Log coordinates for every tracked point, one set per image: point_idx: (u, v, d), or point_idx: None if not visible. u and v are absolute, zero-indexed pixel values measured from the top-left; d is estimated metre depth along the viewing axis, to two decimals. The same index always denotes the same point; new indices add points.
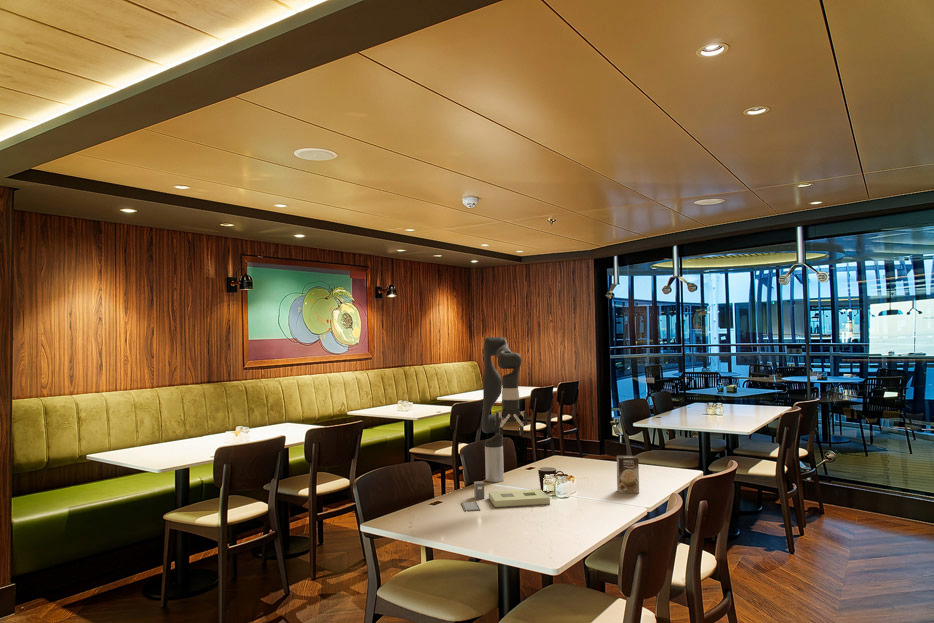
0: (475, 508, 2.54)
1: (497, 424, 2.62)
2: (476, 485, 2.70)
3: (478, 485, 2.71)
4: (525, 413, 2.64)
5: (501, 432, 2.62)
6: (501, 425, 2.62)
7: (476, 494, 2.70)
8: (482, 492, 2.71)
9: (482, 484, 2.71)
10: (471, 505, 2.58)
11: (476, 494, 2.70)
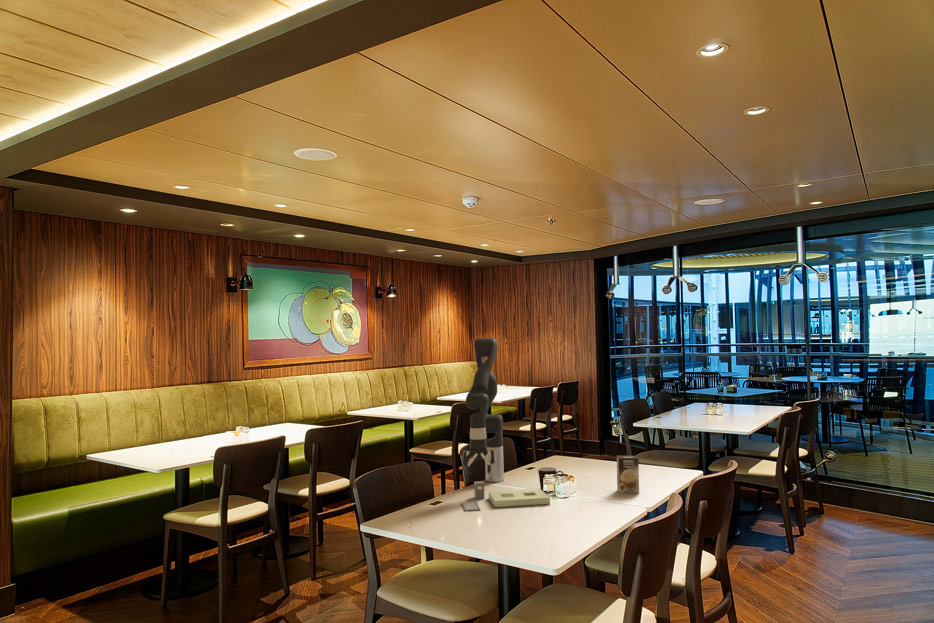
0: (475, 508, 2.54)
1: (465, 463, 2.71)
2: (476, 485, 2.71)
3: (478, 485, 2.71)
4: (492, 452, 2.73)
5: (469, 471, 2.71)
6: (469, 464, 2.71)
7: (476, 494, 2.70)
8: (482, 492, 2.71)
9: (482, 484, 2.71)
10: (471, 505, 2.58)
11: (476, 494, 2.70)
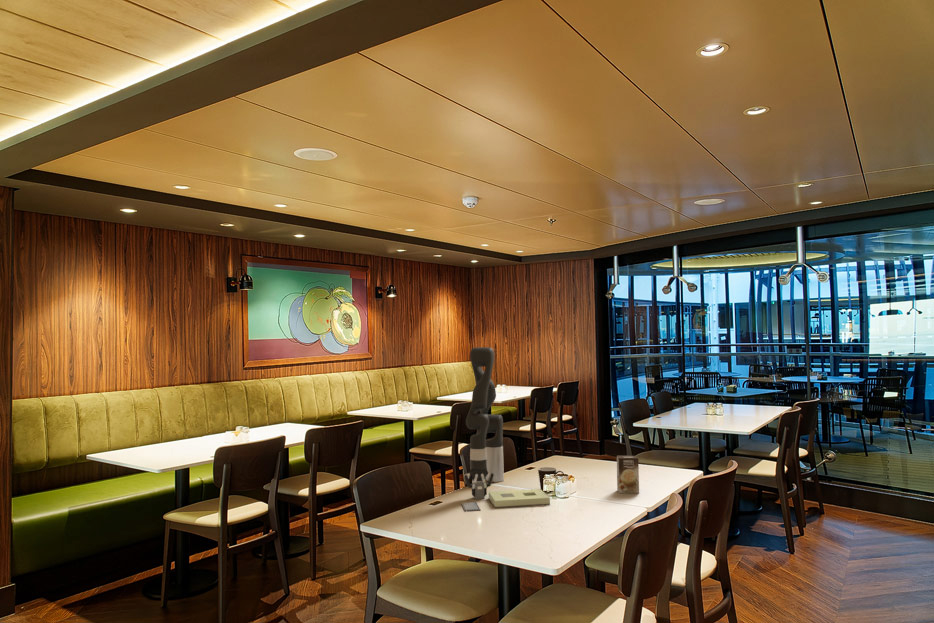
0: (475, 508, 2.54)
1: (469, 485, 2.71)
2: (476, 485, 2.71)
3: (478, 485, 2.71)
4: (492, 475, 2.72)
5: (473, 493, 2.71)
6: (473, 486, 2.71)
7: (476, 494, 2.70)
8: (482, 492, 2.71)
9: (482, 484, 2.71)
10: (471, 505, 2.58)
11: (476, 493, 2.70)
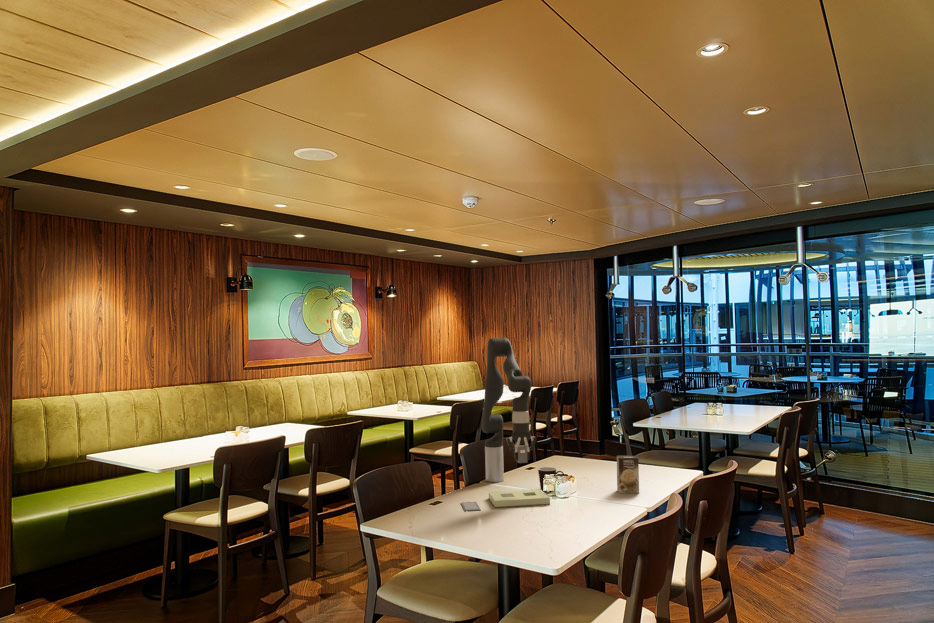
0: (475, 508, 2.54)
1: (512, 449, 2.65)
2: (519, 448, 2.64)
3: (521, 448, 2.65)
4: (535, 439, 2.66)
5: (516, 457, 2.65)
6: (516, 450, 2.65)
7: (519, 458, 2.64)
8: (525, 456, 2.65)
9: (525, 448, 2.65)
10: (471, 505, 2.58)
11: (519, 457, 2.64)
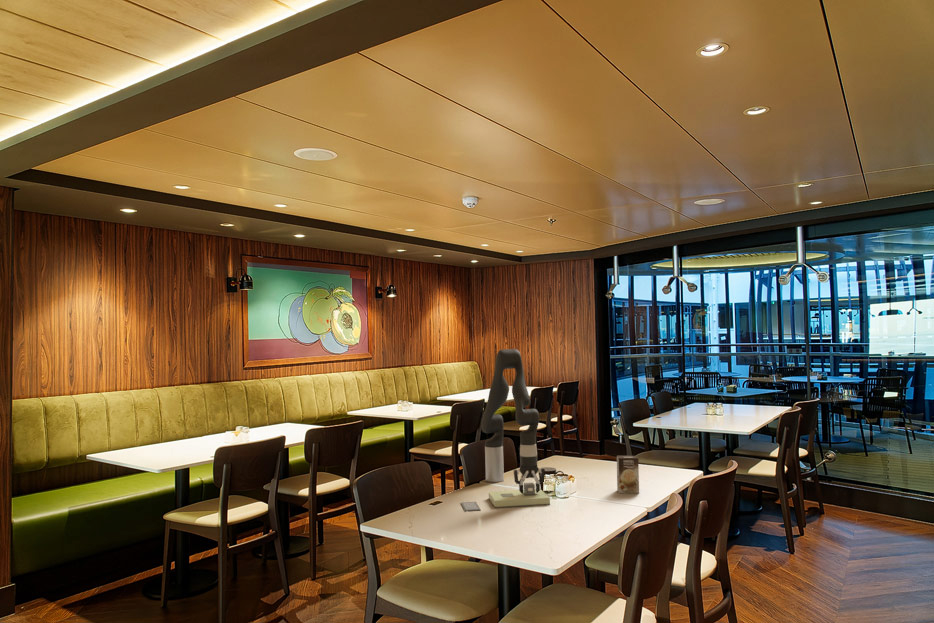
0: (475, 508, 2.54)
1: (517, 482, 2.64)
2: (527, 486, 2.63)
3: (529, 486, 2.63)
4: (543, 470, 2.66)
5: (521, 490, 2.64)
6: (521, 483, 2.64)
7: None
8: (533, 494, 2.63)
9: (532, 486, 2.64)
10: (471, 505, 2.58)
11: (527, 495, 2.63)
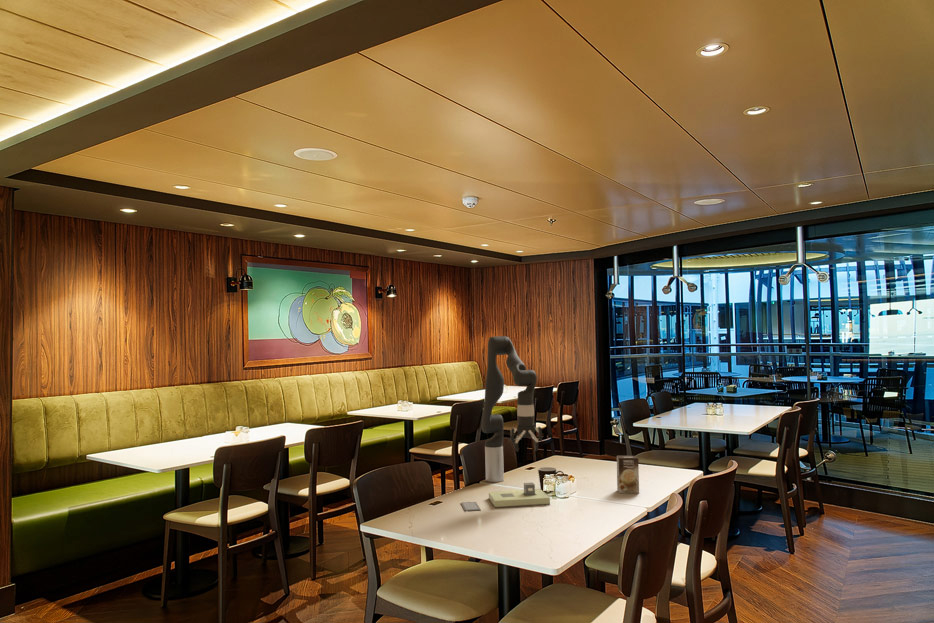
0: (475, 508, 2.54)
1: (512, 440, 2.68)
2: (527, 486, 2.63)
3: (529, 486, 2.63)
4: (540, 429, 2.70)
5: (516, 448, 2.68)
6: (516, 441, 2.68)
7: None
8: (533, 494, 2.63)
9: (532, 486, 2.64)
10: (471, 505, 2.58)
11: (527, 495, 2.63)
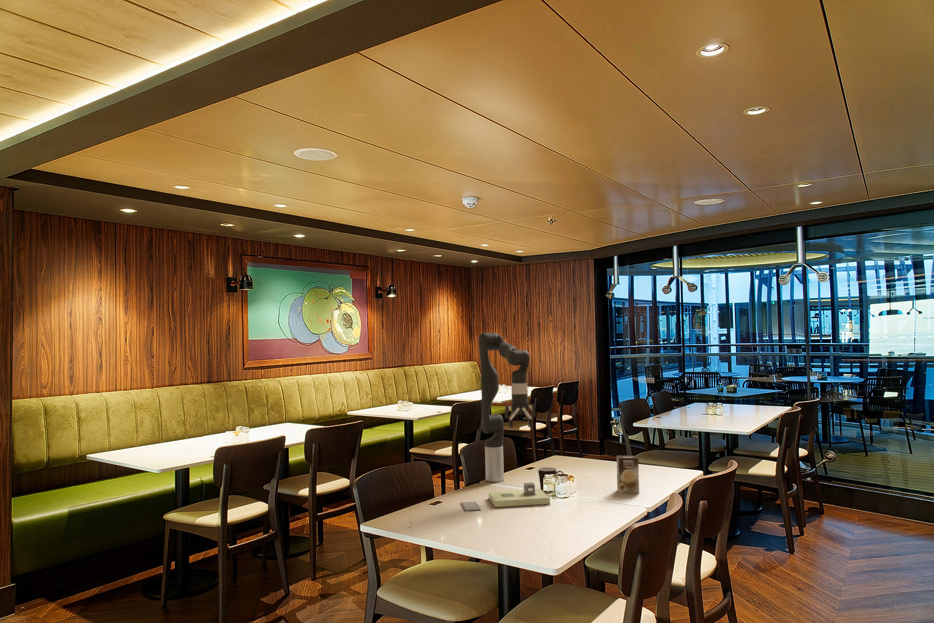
0: (475, 508, 2.54)
1: (507, 417, 2.80)
2: (527, 486, 2.63)
3: (529, 486, 2.63)
4: (533, 407, 2.82)
5: (511, 424, 2.80)
6: (511, 418, 2.80)
7: None
8: (533, 494, 2.63)
9: (532, 486, 2.64)
10: (471, 505, 2.58)
11: (527, 495, 2.63)
